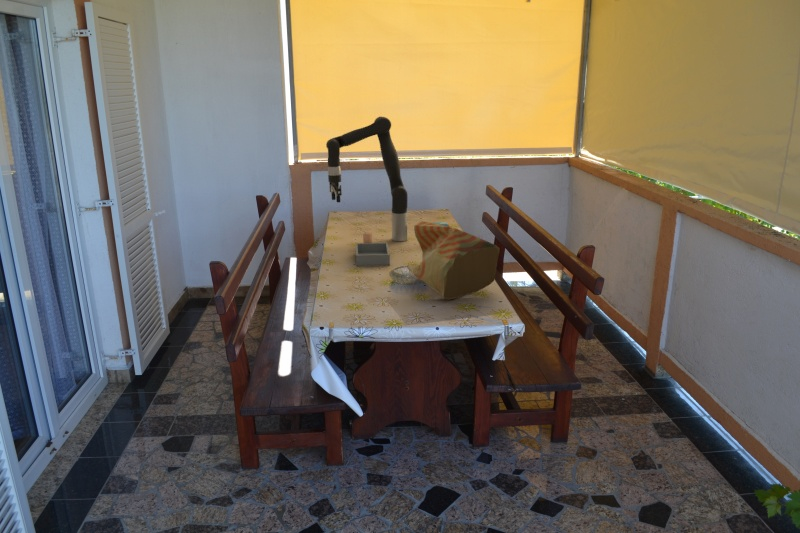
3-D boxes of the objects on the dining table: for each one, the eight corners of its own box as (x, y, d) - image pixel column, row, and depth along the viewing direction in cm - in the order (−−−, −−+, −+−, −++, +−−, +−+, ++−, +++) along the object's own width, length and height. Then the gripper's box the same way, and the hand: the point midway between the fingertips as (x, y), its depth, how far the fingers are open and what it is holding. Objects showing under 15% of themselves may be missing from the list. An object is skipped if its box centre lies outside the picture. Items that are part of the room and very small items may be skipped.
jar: (372, 247, 379) (371, 232, 376) (372, 249, 374) (372, 234, 371) (363, 247, 378) (363, 232, 375) (363, 249, 373) (363, 234, 370)
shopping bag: (467, 235, 275) (406, 203, 300) (436, 301, 280) (379, 264, 305) (509, 250, 302) (450, 219, 328) (481, 309, 307) (424, 275, 333)
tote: (387, 252, 367) (387, 242, 365) (389, 265, 344) (389, 254, 342) (356, 253, 366) (355, 243, 364) (356, 266, 343) (356, 255, 341)
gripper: (344, 174, 370) (346, 202, 375) (336, 171, 382) (338, 198, 387) (332, 176, 367) (334, 203, 372) (324, 172, 379) (326, 199, 384)
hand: (336, 201), depth 379 cm, fingers open, 8 cm apart
